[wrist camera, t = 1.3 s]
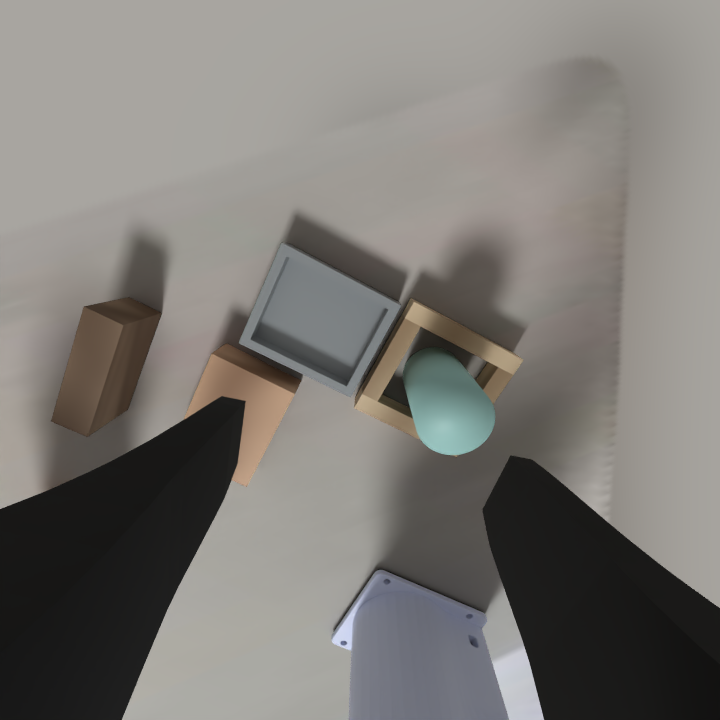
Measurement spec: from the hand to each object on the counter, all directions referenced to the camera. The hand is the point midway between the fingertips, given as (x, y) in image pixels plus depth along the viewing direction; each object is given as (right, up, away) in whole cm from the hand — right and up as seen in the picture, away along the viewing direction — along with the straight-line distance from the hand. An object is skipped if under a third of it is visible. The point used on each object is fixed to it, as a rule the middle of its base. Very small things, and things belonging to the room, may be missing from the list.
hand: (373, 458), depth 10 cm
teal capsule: (+4, +2, +12) cm, 13 cm away
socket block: (+4, +2, +12) cm, 13 cm away
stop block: (-15, +3, +12) cm, 19 cm away
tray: (-3, +5, +12) cm, 13 cm away
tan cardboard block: (-8, 0, +14) cm, 16 cm away
